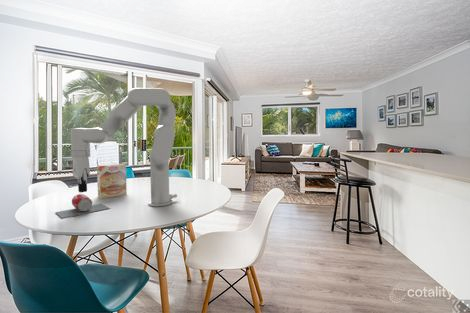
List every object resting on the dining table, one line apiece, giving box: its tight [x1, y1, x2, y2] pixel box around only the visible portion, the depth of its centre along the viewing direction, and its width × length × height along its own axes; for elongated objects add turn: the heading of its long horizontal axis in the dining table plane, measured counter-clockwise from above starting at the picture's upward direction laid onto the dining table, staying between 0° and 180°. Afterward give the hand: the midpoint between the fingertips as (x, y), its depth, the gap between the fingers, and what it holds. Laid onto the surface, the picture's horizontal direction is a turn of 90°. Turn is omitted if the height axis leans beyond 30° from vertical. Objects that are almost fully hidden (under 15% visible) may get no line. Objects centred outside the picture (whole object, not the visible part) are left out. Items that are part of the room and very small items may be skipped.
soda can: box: [71, 193, 93, 212], centre depth 114 cm, size 7×7×12 cm
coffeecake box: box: [96, 163, 127, 199], centre depth 145 cm, size 15×7×20 cm, turn 132°
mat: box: [55, 203, 111, 219], centre depth 114 cm, size 20×12×1 cm, turn 138°
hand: (82, 191), depth 113 cm, fingers closed
